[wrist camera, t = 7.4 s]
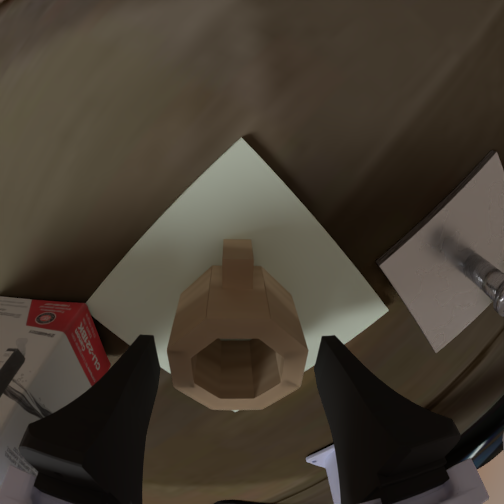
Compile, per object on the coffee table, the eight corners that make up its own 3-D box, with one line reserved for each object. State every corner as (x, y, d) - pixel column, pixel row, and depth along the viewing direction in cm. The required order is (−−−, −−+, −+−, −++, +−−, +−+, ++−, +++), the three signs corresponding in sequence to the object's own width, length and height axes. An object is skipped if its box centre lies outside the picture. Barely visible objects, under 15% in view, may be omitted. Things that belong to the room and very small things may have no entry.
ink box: (87, 298, 14) (-27, 488, 3) (113, 365, 16) (48, 534, 5) (-6, 292, 14) (-105, 409, 4) (21, 349, 16) (-52, 467, 6)
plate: (521, 261, 16) (558, 289, 12) (433, 348, 18) (461, 391, 14) (491, 150, 12) (547, 168, 8) (375, 261, 15) (416, 310, 11)
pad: (385, 305, 16) (388, 310, 16) (235, 406, 19) (235, 412, 19) (241, 137, 12) (241, 137, 12) (85, 302, 15) (82, 307, 14)
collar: (283, 351, 16) (295, 407, 13) (186, 351, 16) (178, 408, 12) (297, 240, 14) (320, 286, 10) (176, 238, 13) (156, 285, 10)
